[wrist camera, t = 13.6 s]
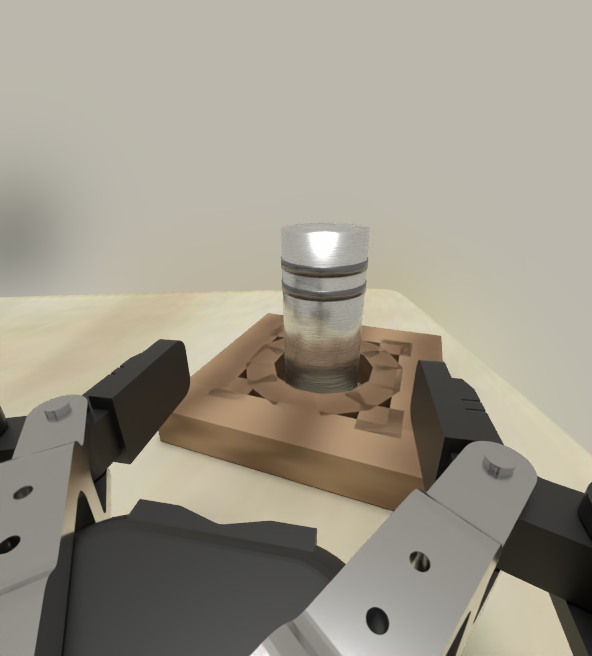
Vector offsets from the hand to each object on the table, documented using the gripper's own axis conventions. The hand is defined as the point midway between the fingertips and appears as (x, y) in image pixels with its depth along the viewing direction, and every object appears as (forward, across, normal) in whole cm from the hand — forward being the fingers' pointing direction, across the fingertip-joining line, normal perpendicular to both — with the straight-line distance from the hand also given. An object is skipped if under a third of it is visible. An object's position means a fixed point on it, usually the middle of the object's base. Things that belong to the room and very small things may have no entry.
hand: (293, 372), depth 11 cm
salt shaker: (+11, 0, +9) cm, 14 cm away
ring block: (+11, 0, +9) cm, 14 cm away
